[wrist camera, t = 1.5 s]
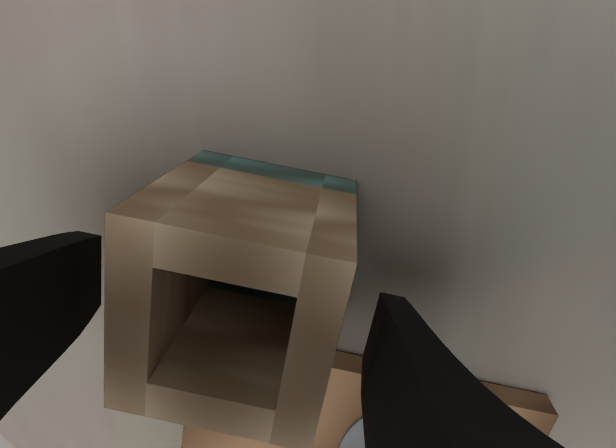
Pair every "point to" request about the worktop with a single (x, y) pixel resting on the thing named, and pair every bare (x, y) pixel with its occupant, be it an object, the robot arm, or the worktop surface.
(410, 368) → the robot arm
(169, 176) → the sleeve
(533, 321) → the worktop surface
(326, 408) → the pin board
